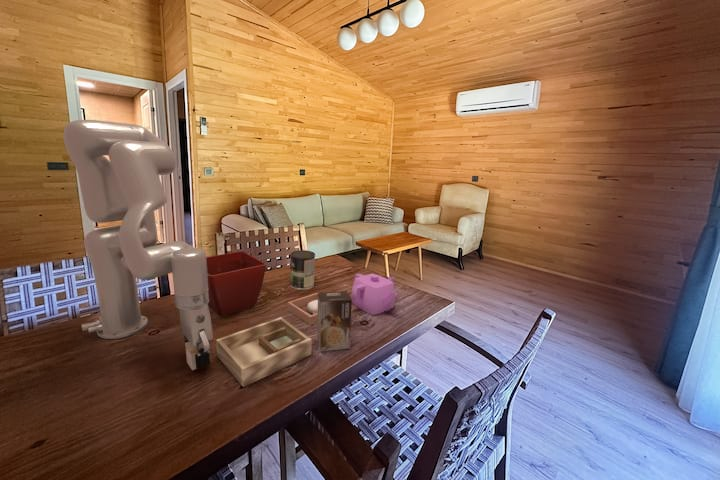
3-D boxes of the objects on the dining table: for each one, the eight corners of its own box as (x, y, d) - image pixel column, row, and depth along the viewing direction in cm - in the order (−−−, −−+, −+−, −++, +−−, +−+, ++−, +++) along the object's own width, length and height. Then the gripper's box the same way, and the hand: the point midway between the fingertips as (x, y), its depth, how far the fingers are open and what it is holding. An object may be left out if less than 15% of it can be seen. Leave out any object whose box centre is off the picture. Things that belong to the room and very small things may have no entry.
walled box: (243, 387, 77) (242, 369, 76) (217, 355, 88) (216, 339, 86) (311, 354, 91) (311, 339, 89) (281, 331, 101) (281, 316, 100)
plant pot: (193, 303, 116) (190, 259, 111) (244, 290, 129) (243, 250, 124) (213, 324, 103) (210, 276, 98) (267, 308, 115) (267, 264, 111)
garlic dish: (310, 325, 106) (310, 317, 105) (287, 309, 115) (287, 302, 114) (340, 313, 115) (341, 305, 114) (317, 299, 124) (318, 292, 124)
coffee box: (345, 337, 100) (348, 290, 96) (350, 349, 94) (353, 299, 90) (316, 340, 98) (317, 292, 94) (319, 352, 92) (320, 301, 88)
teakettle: (352, 294, 131) (353, 266, 128) (393, 297, 131) (396, 269, 128) (348, 314, 115) (350, 282, 112) (395, 318, 114) (399, 286, 111)
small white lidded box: (192, 370, 81) (190, 350, 80) (186, 362, 84) (184, 342, 83) (208, 363, 84) (207, 344, 83) (203, 356, 87) (201, 337, 85)
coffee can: (291, 290, 131) (291, 258, 127) (288, 281, 140) (289, 250, 136) (316, 289, 134) (317, 257, 130) (312, 279, 143) (313, 249, 140)
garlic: (324, 304, 121) (324, 295, 120) (332, 312, 116) (333, 302, 115) (304, 308, 117) (305, 299, 116) (312, 317, 112) (312, 307, 111)
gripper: (221, 305, 76) (225, 369, 81) (196, 282, 88) (200, 339, 92) (187, 315, 71) (193, 383, 75) (165, 289, 83) (171, 349, 87)
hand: (197, 358), depth 84 cm, fingers open, 7 cm apart
